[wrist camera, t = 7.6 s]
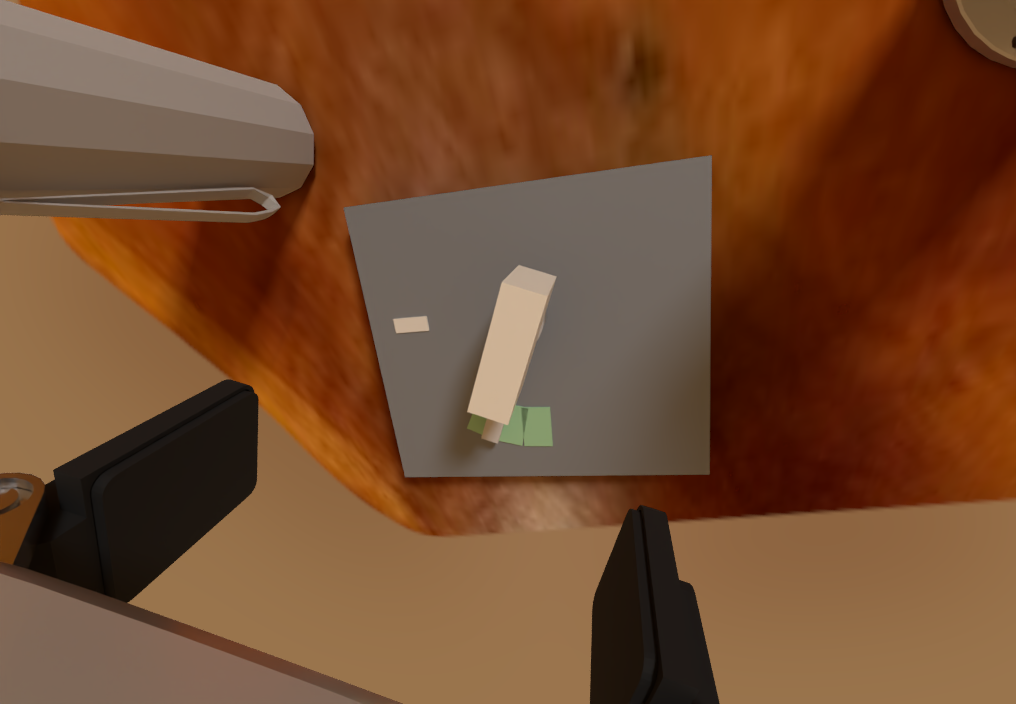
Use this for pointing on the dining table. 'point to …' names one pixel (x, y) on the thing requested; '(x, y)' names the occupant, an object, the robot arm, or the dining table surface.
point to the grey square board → (549, 321)
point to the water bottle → (136, 127)
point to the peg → (510, 347)
